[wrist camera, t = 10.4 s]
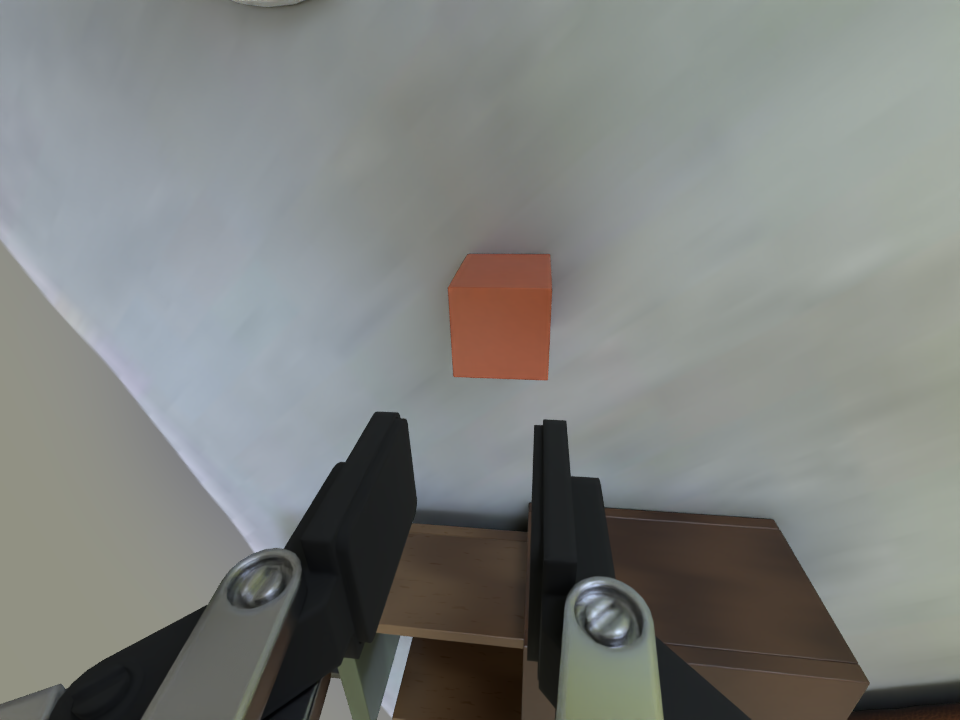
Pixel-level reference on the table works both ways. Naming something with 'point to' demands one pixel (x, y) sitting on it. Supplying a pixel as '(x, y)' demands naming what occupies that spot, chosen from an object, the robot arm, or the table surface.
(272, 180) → the table surface
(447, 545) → the drawer
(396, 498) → the robot arm
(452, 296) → the block
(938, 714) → the sunglasses case
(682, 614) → the cabinet
